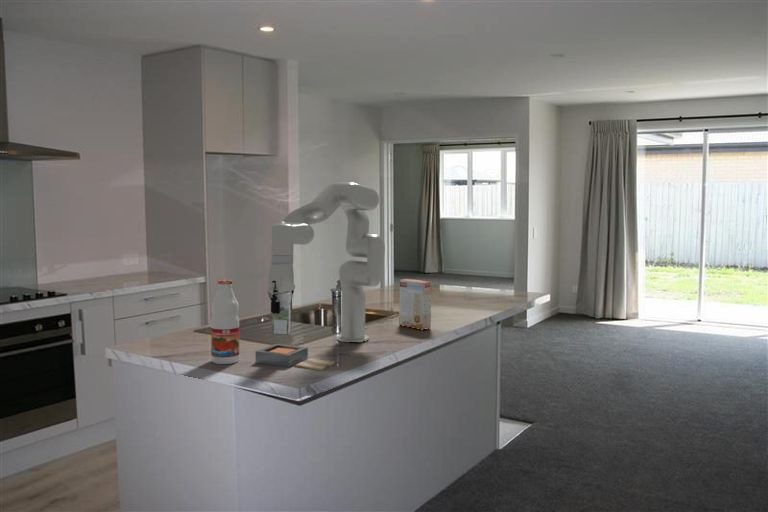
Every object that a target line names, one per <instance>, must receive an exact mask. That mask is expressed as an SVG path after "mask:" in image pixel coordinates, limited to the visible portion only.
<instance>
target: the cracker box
mask: <svg viewBox="0 0 768 512" xmlns="http://www.w3.org/2000/svg"><path fill="white" fill-rule="evenodd" d="M432 283H433V282H432V281H428V280H421V279H413V278H412V279H411V278H403V279H399V304H398V305H399V306H398V307H399V315H398V318H399V319H398V321H399V322H398V326H399V325H404V326H409V327H414V328H419V329H425V328H430V329H431V322H432V321H431V320H432V315H431V313H432Z"/></svg>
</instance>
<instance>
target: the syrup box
mask: <svg viewBox="0 0 768 512" xmlns="http://www.w3.org/2000/svg"><path fill="white" fill-rule="evenodd" d="M275 292H277V291H275ZM275 296H276V297H277V295H275ZM278 302H280V313H279V314H277V313H271V314H272V317H271V318H272V320H271V322H272V324H271V326H272V327H271V329H272V331H271V334H272V335H273V336H274V335H275V336H276V335H277V336H283V335H284V336H289V335H290V333H291V311H292V310H291V292H286V293H283V294H281V295H280V298H279V301H278Z"/></svg>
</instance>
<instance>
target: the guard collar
mask: <svg viewBox="0 0 768 512" xmlns="http://www.w3.org/2000/svg"><path fill="white" fill-rule="evenodd" d="M276 348H286V349H294V350H295V351H292V352H290V353H288V354H285V353H276V352H269V351H271V350H274V349H276ZM308 351H309V347H307V346H300V345H299V346H297V345H289V344H282V343H274V344H271V345H268V346H266V347H263V348H261V349H258V350H255V364H262V365H267V366H268V365H269V366H274V367H275V366H277V367H285V368H291V367H292V366H295V365H296V364H298V363H300V362H303V361H305V360H307V359H309V358H308V357H309V356H308V355H309V353H308Z"/></svg>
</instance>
